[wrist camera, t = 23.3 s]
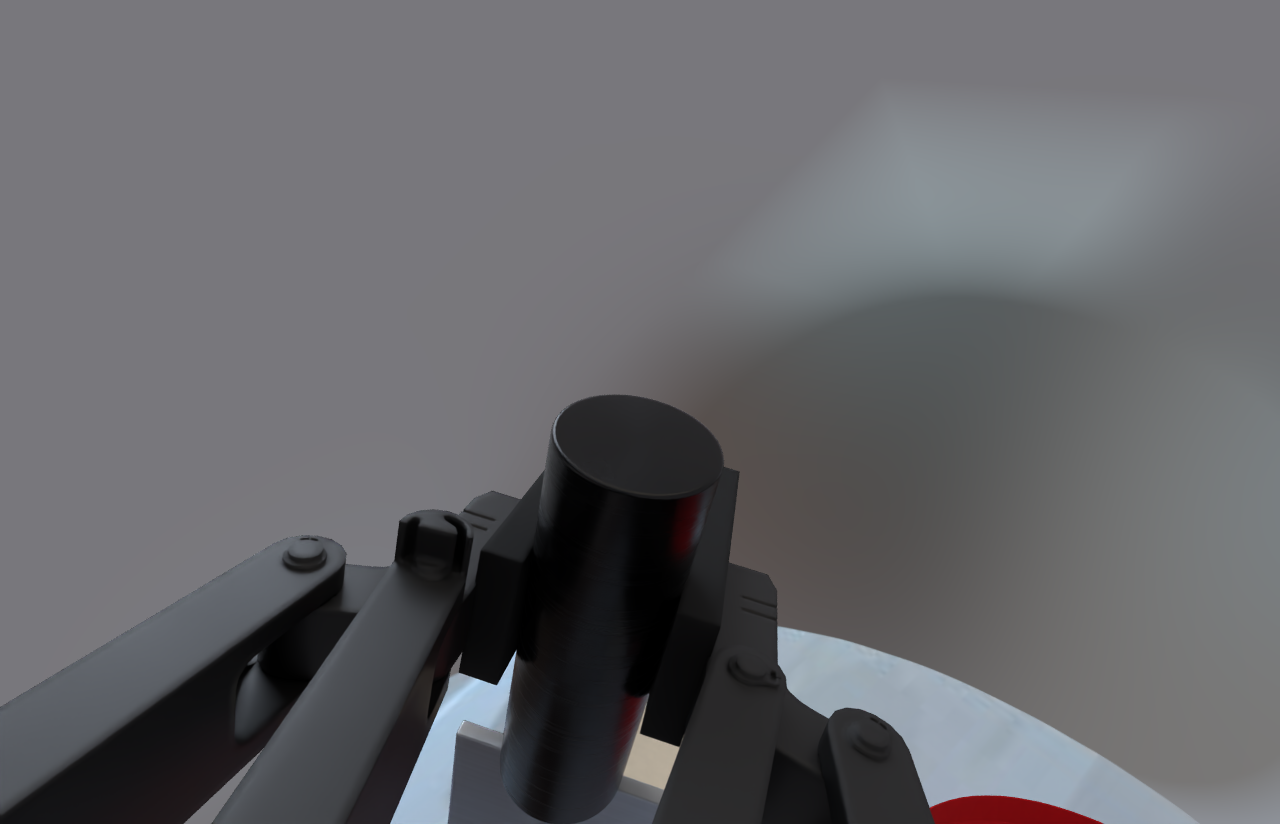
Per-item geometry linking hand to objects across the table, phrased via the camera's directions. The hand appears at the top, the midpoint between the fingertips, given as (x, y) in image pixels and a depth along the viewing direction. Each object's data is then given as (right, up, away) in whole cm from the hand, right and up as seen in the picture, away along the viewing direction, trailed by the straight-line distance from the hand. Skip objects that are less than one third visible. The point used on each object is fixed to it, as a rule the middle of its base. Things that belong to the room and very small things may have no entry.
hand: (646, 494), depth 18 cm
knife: (-4, -14, +3) cm, 15 cm away
